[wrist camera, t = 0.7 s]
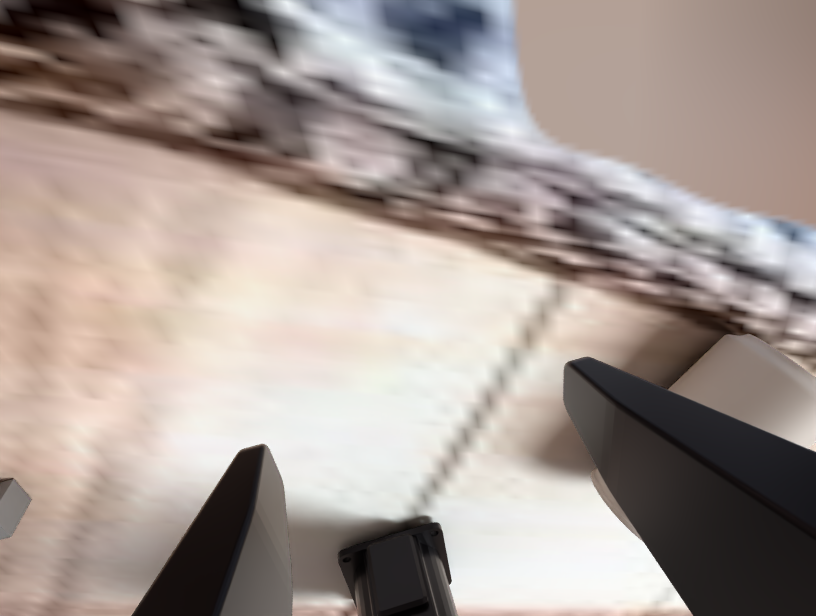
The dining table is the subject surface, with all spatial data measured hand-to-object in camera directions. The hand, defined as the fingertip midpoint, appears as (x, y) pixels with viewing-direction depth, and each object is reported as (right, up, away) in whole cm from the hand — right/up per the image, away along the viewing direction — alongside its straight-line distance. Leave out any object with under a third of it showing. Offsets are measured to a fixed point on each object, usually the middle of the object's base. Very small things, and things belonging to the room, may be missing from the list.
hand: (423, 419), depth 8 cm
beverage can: (+20, -1, +17) cm, 26 cm away
